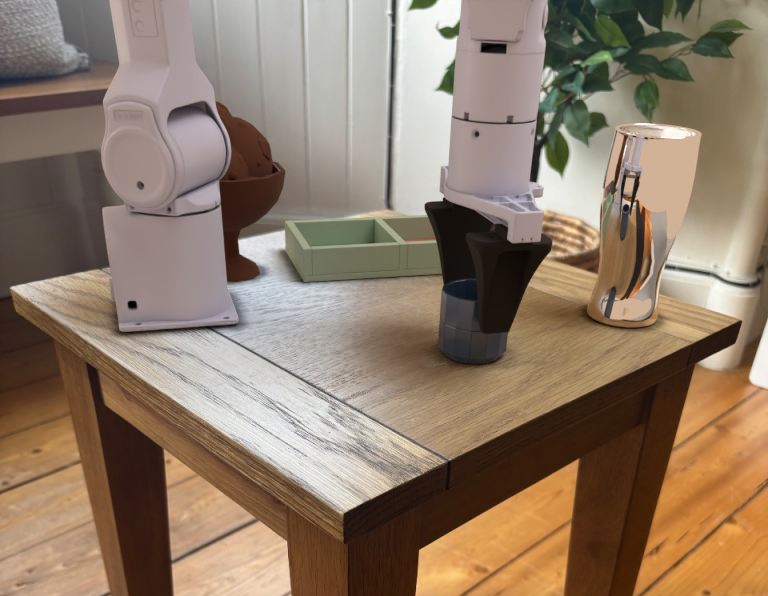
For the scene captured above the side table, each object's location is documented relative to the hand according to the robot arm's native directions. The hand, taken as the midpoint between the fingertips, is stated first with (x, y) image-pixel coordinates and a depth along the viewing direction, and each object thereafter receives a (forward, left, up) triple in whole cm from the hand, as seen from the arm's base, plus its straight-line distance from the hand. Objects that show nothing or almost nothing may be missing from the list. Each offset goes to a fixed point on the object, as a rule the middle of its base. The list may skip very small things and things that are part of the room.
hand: (476, 313), depth 62 cm
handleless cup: (0, 0, -3) cm, 3 cm away
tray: (0, +24, -3) cm, 24 cm away
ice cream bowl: (-16, +23, -3) cm, 28 cm away
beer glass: (+16, +5, -3) cm, 17 cm away
